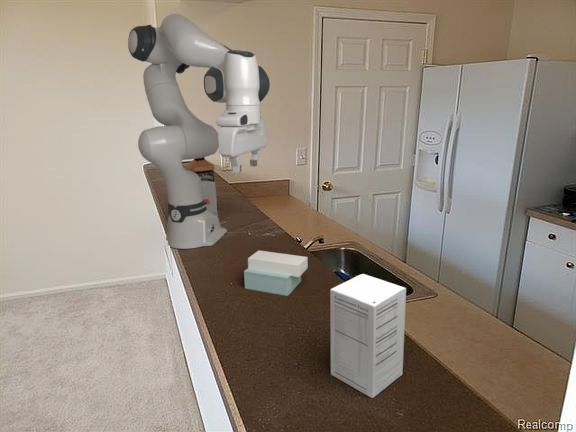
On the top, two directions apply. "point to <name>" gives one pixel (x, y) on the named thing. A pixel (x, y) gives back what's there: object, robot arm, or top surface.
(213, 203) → the skincare box
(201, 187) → the robot arm
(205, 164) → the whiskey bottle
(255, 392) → the top surface
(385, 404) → the top surface
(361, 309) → the supplement box
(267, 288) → the case
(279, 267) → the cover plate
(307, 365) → the top surface
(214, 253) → the top surface
